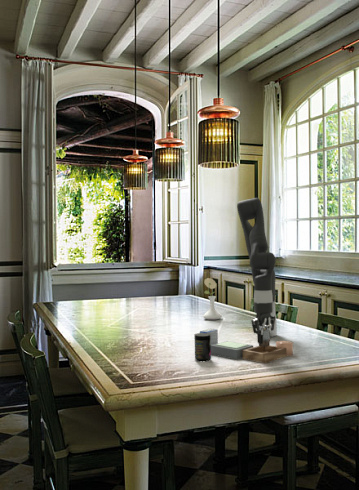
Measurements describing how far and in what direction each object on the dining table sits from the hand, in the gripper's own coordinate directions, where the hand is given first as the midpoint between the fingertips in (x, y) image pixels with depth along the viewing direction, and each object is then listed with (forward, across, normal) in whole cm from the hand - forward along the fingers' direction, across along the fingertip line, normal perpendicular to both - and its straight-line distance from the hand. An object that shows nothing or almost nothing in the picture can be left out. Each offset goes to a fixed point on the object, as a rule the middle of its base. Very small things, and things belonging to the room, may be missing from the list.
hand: (264, 342), depth 208 cm
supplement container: (+7, +19, -17) cm, 26 cm away
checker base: (+6, +4, -14) cm, 16 cm away
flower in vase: (+6, -59, -81) cm, 100 cm away
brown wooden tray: (+6, 0, 0) cm, 6 cm away
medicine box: (+7, +3, -28) cm, 29 cm away
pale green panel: (+3, +4, -14) cm, 15 cm away
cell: (+1, 0, 0) cm, 1 cm away
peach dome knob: (+6, -10, +3) cm, 12 cm away
